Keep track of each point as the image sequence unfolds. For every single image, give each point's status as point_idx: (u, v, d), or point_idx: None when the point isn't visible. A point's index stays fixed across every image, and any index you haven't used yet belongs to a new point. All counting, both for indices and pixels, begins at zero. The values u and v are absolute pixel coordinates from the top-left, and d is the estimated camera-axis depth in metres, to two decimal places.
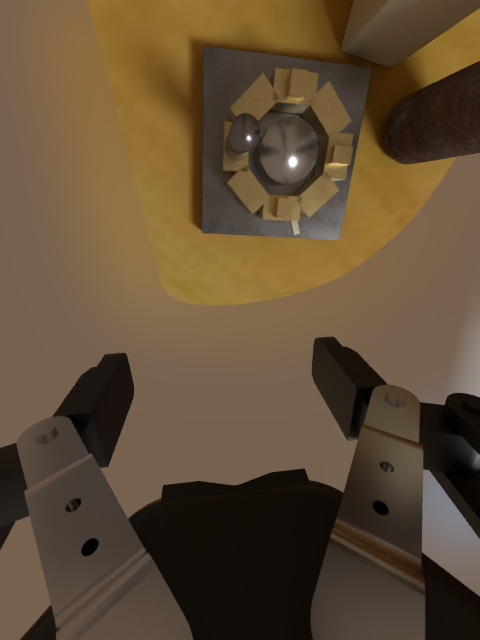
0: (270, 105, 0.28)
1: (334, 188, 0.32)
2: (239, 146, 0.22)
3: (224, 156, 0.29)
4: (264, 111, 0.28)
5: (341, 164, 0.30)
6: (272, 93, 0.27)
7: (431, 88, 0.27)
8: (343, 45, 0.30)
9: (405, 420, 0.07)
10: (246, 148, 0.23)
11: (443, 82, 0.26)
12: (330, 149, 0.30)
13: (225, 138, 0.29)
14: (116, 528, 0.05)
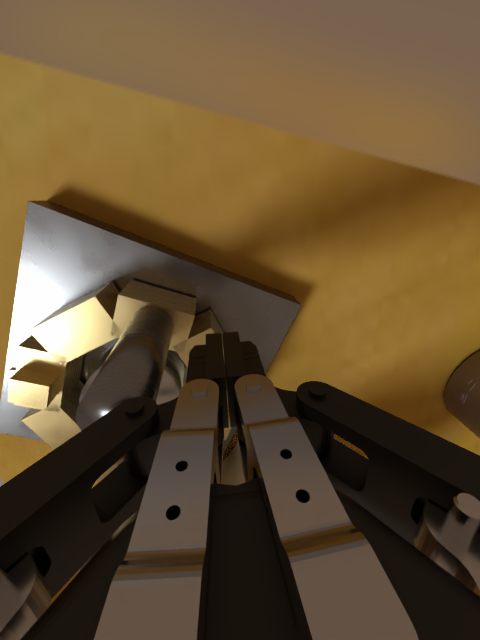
0: None
1: None
2: (83, 402, 0.09)
3: (141, 302, 0.16)
4: None
5: None
6: None
7: None
8: None
9: (248, 404, 0.08)
10: (78, 414, 0.09)
11: None
12: None
13: (169, 310, 0.16)
14: (197, 512, 0.05)
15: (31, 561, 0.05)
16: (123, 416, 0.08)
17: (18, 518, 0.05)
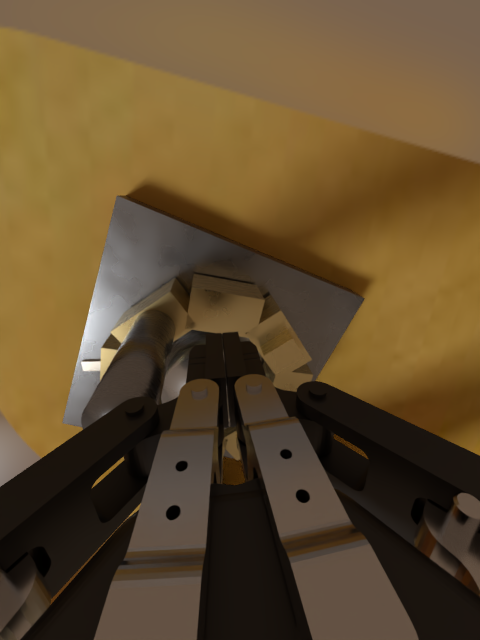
0: (238, 333, 0.17)
1: None
2: None
3: (128, 321, 0.16)
4: (226, 331, 0.17)
5: None
6: (252, 326, 0.17)
7: None
8: None
9: (248, 404, 0.08)
10: None
11: None
12: None
13: (150, 307, 0.16)
14: (197, 512, 0.05)
15: (31, 561, 0.05)
16: (123, 416, 0.08)
17: (18, 518, 0.05)
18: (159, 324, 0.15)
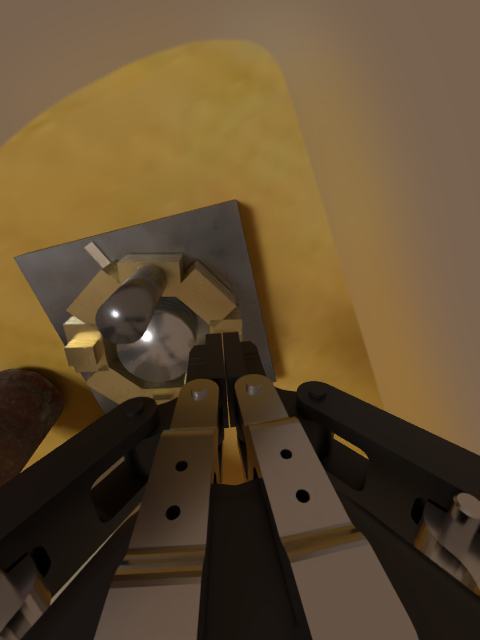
0: (204, 318, 0.22)
1: None
2: (97, 315, 0.13)
3: (135, 263, 0.20)
4: (197, 312, 0.22)
5: None
6: (217, 319, 0.22)
7: (31, 454, 0.24)
8: None
9: (249, 404, 0.08)
10: (98, 325, 0.14)
11: (20, 469, 0.23)
12: (170, 391, 0.25)
13: (158, 264, 0.20)
14: (197, 512, 0.05)
15: (31, 561, 0.05)
16: (123, 416, 0.08)
17: (18, 518, 0.05)
18: (161, 279, 0.19)
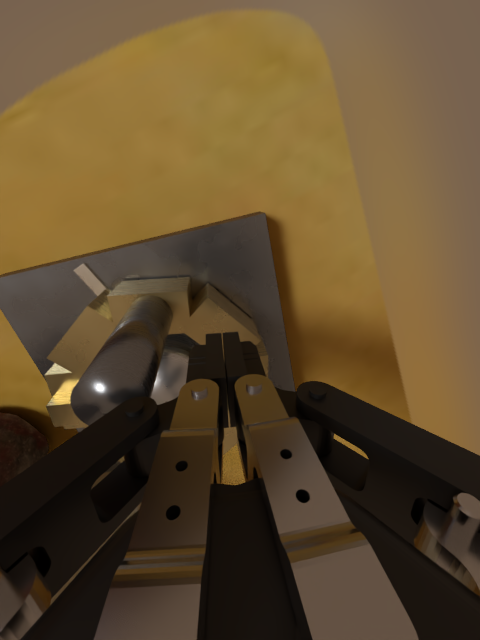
0: None
1: None
2: (73, 396, 0.09)
3: (131, 295, 0.16)
4: None
5: None
6: None
7: None
8: None
9: (248, 404, 0.08)
10: (76, 409, 0.09)
11: None
12: None
13: (160, 294, 0.16)
14: (197, 512, 0.05)
15: (31, 561, 0.05)
16: (123, 416, 0.08)
17: (18, 518, 0.05)
18: (165, 316, 0.14)
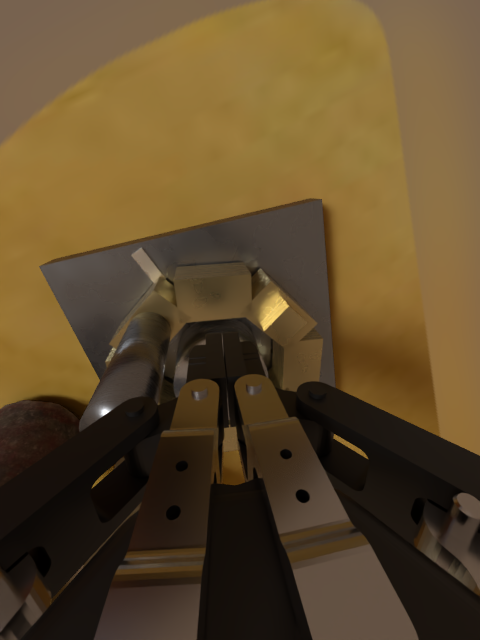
0: (234, 315, 0.17)
1: None
2: None
3: (123, 329, 0.16)
4: (221, 316, 0.17)
5: None
6: (246, 304, 0.17)
7: None
8: None
9: (248, 404, 0.08)
10: None
11: None
12: None
13: (139, 310, 0.16)
14: (197, 512, 0.05)
15: (31, 561, 0.05)
16: (123, 416, 0.08)
17: (18, 518, 0.05)
18: (149, 324, 0.14)
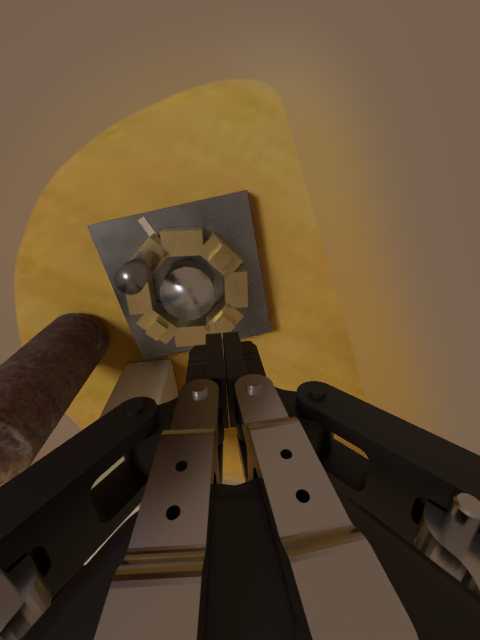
0: (193, 254, 0.30)
1: None
2: (117, 286, 0.23)
3: None
4: (186, 254, 0.30)
5: None
6: (200, 247, 0.30)
7: (91, 371, 0.33)
8: (171, 362, 0.40)
9: (249, 404, 0.08)
10: (122, 291, 0.23)
11: (86, 379, 0.32)
12: (221, 314, 0.33)
13: (141, 248, 0.29)
14: (197, 512, 0.05)
15: (31, 561, 0.05)
16: (123, 416, 0.08)
17: (18, 518, 0.05)
18: (146, 252, 0.28)
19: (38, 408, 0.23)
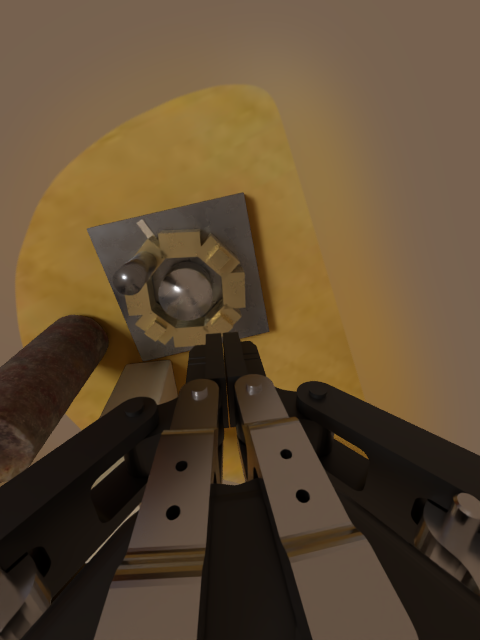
0: (191, 255, 0.31)
1: None
2: (116, 287, 0.24)
3: None
4: (184, 255, 0.30)
5: None
6: (198, 249, 0.30)
7: (91, 372, 0.33)
8: (170, 363, 0.41)
9: (249, 404, 0.08)
10: (121, 292, 0.24)
11: (86, 379, 0.32)
12: (219, 314, 0.34)
13: (140, 250, 0.30)
14: (197, 511, 0.05)
15: (31, 561, 0.05)
16: (123, 416, 0.08)
17: (18, 518, 0.05)
18: (144, 254, 0.28)
19: (39, 407, 0.23)
